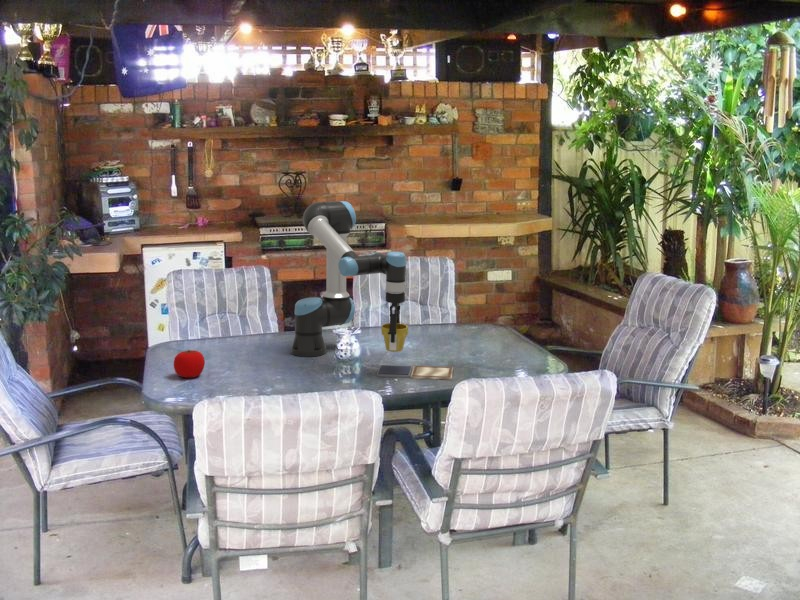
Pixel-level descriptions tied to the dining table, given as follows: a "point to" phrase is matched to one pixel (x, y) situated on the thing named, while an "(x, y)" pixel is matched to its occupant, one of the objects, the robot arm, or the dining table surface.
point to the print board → (432, 372)
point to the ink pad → (394, 371)
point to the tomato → (189, 364)
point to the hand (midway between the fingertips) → (394, 346)
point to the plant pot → (401, 335)
